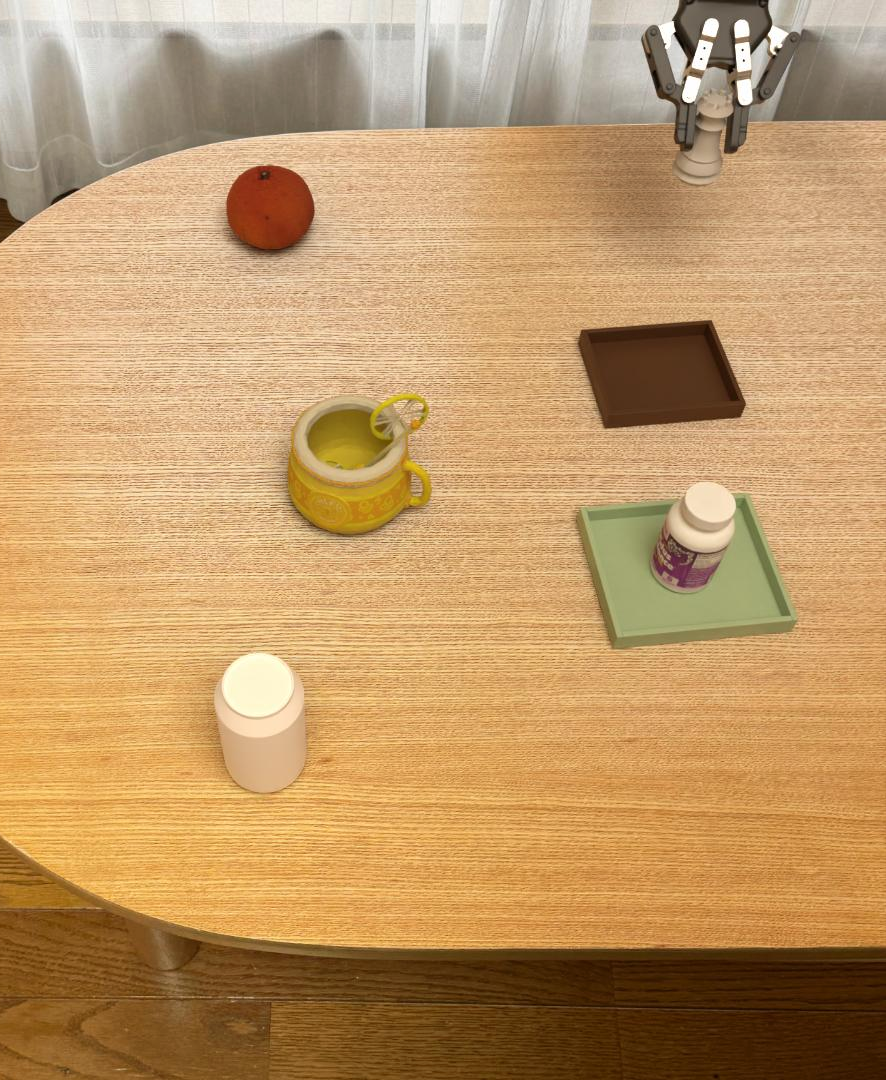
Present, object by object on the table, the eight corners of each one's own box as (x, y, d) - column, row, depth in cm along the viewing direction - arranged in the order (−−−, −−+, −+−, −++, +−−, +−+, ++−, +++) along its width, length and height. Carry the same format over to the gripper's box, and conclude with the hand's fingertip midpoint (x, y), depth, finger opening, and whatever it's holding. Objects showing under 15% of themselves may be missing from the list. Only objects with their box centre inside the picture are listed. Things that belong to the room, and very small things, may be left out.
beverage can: (314, 789, 87) (311, 716, 78) (231, 805, 87) (218, 733, 77) (299, 715, 91) (294, 636, 81) (219, 730, 90) (205, 652, 80)
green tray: (742, 505, 103) (748, 492, 102) (791, 631, 96) (798, 619, 94) (576, 520, 102) (579, 507, 101) (612, 649, 95) (617, 637, 93)
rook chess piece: (698, 195, 107) (721, 119, 100) (660, 171, 108) (680, 95, 102) (729, 175, 108) (754, 98, 102) (692, 152, 110) (713, 75, 104)
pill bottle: (636, 555, 100) (662, 485, 92) (689, 535, 101) (719, 465, 93) (670, 605, 97) (700, 537, 89) (725, 584, 98) (759, 515, 90)
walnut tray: (706, 333, 116) (711, 319, 114) (740, 417, 109) (746, 403, 108) (577, 343, 115) (581, 329, 113) (604, 428, 108) (608, 415, 107)
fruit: (219, 258, 121) (212, 194, 114) (242, 203, 126) (237, 140, 119) (302, 272, 120) (301, 208, 113) (322, 216, 125) (322, 153, 118)
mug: (268, 523, 101) (261, 432, 92) (314, 433, 107) (312, 339, 98) (408, 566, 99) (416, 478, 89) (447, 472, 105) (459, 379, 95)
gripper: (656, -75, 98) (636, 141, 100) (827, -68, 97) (803, 148, 100) (638, -46, 105) (620, 154, 108) (797, -40, 104) (775, 161, 107)
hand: (708, 150), depth 104 cm, fingers closed on rook chess piece, 3 cm apart
